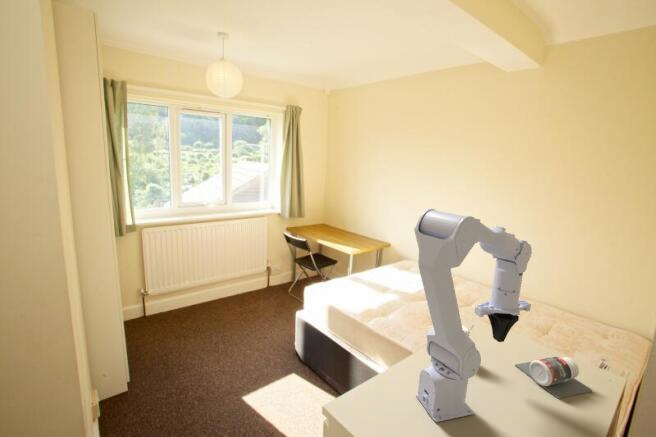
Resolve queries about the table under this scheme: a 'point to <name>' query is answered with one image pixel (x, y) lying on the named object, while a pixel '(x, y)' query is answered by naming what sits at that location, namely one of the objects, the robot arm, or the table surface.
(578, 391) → the mat
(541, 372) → the pill bottle
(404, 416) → the table surface
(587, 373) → the table surface
